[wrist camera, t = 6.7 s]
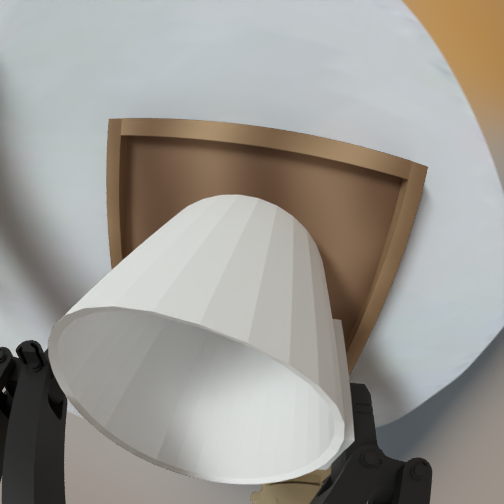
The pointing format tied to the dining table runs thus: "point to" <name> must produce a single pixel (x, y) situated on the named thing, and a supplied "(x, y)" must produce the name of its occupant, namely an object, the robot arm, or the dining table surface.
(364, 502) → the robot arm
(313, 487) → the robot
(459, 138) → the dining table surface
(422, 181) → the tray
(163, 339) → the mug
